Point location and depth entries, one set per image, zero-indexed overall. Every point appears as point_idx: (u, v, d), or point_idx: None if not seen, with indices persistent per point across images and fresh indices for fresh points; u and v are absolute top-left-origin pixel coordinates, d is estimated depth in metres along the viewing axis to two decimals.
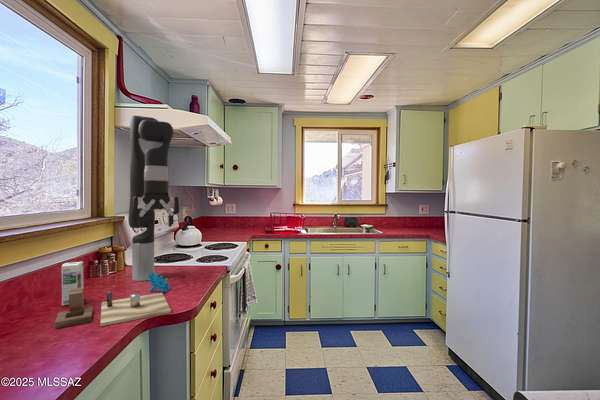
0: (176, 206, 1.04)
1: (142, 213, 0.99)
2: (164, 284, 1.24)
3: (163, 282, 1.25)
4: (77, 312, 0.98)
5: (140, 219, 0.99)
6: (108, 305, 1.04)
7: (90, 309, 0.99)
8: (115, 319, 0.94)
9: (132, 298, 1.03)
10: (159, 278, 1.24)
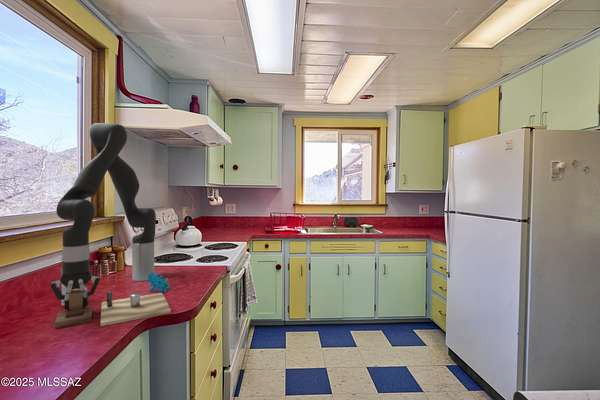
0: (93, 287, 1.02)
1: (67, 297, 0.98)
2: (163, 284, 1.24)
3: (162, 282, 1.25)
4: (77, 312, 0.98)
5: (66, 303, 0.98)
6: (108, 305, 1.04)
7: (90, 309, 0.99)
8: (115, 319, 0.94)
9: (132, 298, 1.03)
10: (158, 278, 1.25)
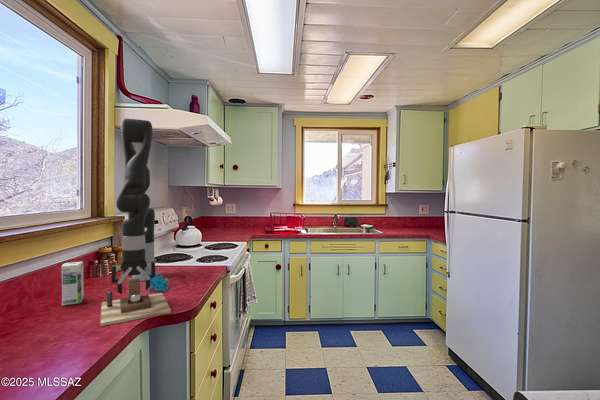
0: (152, 271, 1.12)
1: (120, 280, 1.06)
2: (162, 284, 1.24)
3: (162, 282, 1.25)
4: None
5: (118, 286, 1.06)
6: (108, 305, 1.04)
7: (147, 297, 1.09)
8: (115, 319, 0.94)
9: (132, 298, 1.03)
10: (158, 278, 1.25)
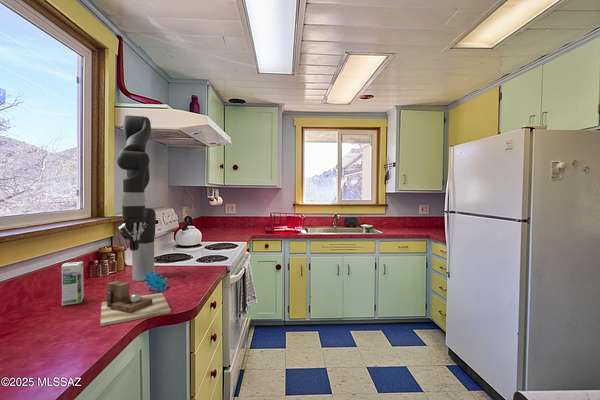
0: (144, 231, 1.15)
1: (134, 237, 1.11)
2: (161, 284, 1.24)
3: (160, 282, 1.25)
4: (128, 301, 1.05)
5: (133, 243, 1.11)
6: (108, 305, 1.04)
7: None
8: (115, 319, 0.94)
9: (132, 298, 1.03)
10: (157, 277, 1.25)
